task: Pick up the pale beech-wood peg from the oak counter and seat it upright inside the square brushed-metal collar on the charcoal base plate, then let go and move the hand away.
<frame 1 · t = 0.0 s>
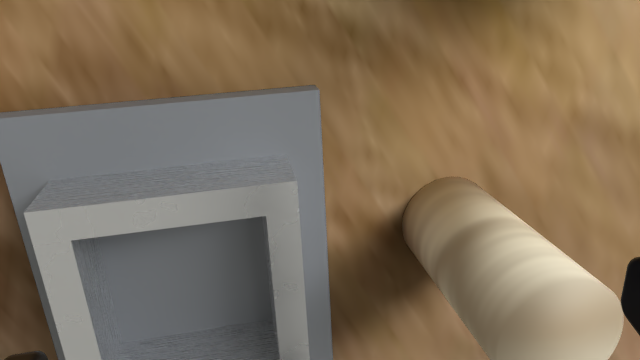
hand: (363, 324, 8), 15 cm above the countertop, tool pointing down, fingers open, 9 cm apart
beech peg: (446, 220, 25), on the countertop
socket collar: (186, 285, 21), on the socket plate, point 2 cm above the countertop
socket plate: (189, 254, 23), on the countertop
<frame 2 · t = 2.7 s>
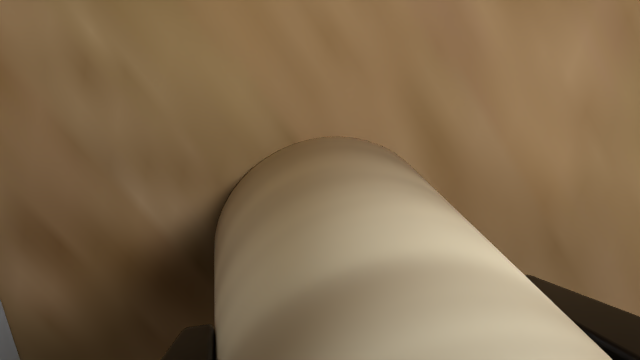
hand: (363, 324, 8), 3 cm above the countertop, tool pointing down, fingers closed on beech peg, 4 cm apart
beech peg: (328, 244, 10), on the countertop, touching gripper
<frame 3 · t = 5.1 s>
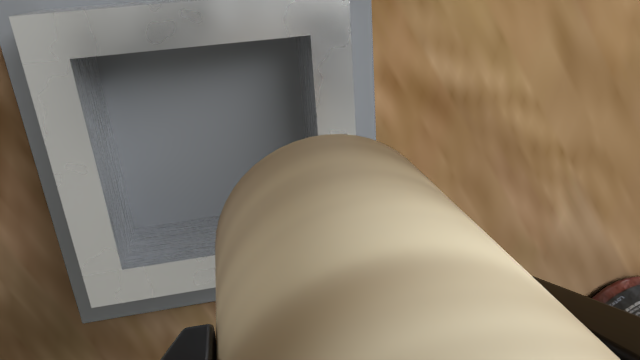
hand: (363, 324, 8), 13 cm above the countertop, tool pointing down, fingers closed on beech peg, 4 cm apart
supplement bottle: (616, 318, 27), on the countertop
beech peg: (329, 242, 10), point 10 cm above the countertop, touching gripper
socket collar: (211, 143, 17), on the socket plate, point 2 cm above the countertop
socket plate: (211, 123, 19), on the countertop
when the fingers open (5 cm above the countertop, at t = 7.5 s): beech peg drops 1 cm, resting on socket plate.
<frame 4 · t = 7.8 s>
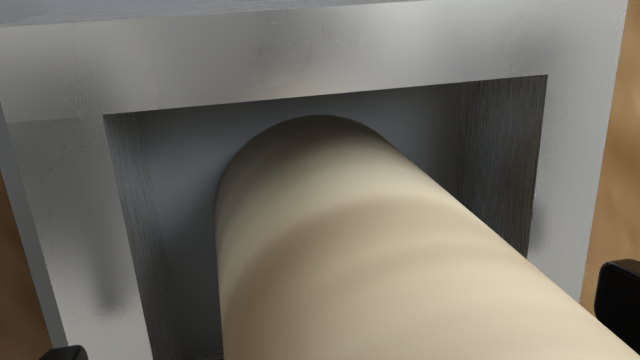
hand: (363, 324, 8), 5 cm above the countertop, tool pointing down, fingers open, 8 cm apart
beech peg: (315, 212, 11), point 1 cm above the countertop, touching socket plate
socket collar: (328, 244, 10), on the socket plate, point 2 cm above the countertop
socket plate: (307, 195, 12), on the countertop
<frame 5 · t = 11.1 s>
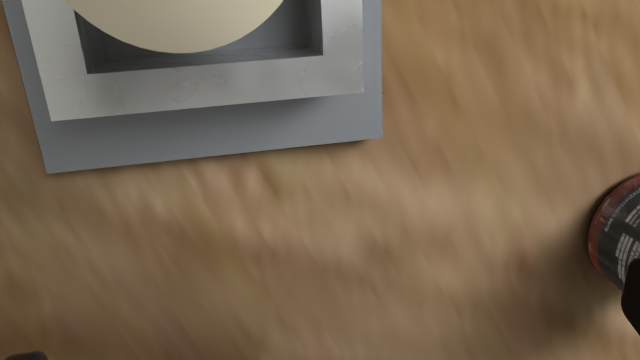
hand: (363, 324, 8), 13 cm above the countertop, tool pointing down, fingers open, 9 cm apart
supplement bottle: (634, 221, 25), on the countertop
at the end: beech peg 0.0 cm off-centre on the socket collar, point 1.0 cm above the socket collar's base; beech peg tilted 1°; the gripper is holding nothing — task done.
